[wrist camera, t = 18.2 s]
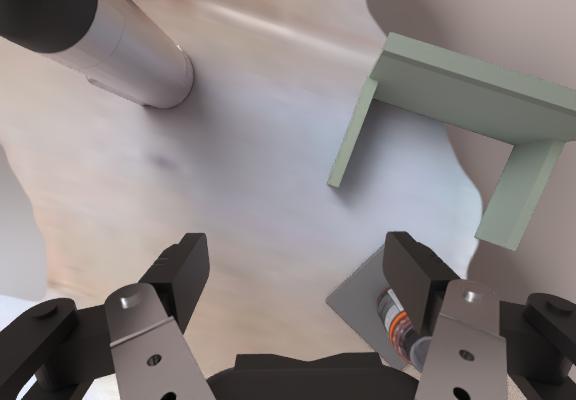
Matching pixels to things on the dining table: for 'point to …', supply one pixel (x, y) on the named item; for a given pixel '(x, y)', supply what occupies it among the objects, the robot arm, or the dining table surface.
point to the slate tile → (366, 307)
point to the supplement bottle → (402, 330)
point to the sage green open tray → (475, 120)
